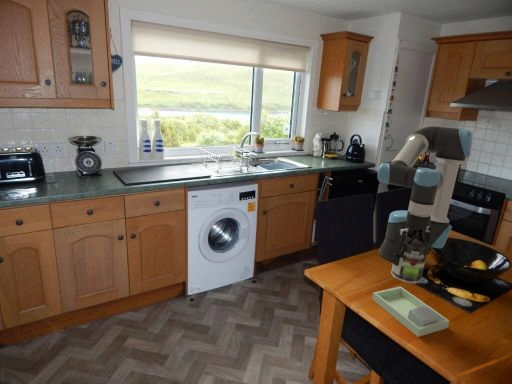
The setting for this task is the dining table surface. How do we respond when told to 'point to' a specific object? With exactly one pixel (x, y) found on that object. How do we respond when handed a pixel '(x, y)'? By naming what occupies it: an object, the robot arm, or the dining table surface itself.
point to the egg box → (423, 316)
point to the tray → (406, 309)
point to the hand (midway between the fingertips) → (407, 270)
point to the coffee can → (412, 261)
